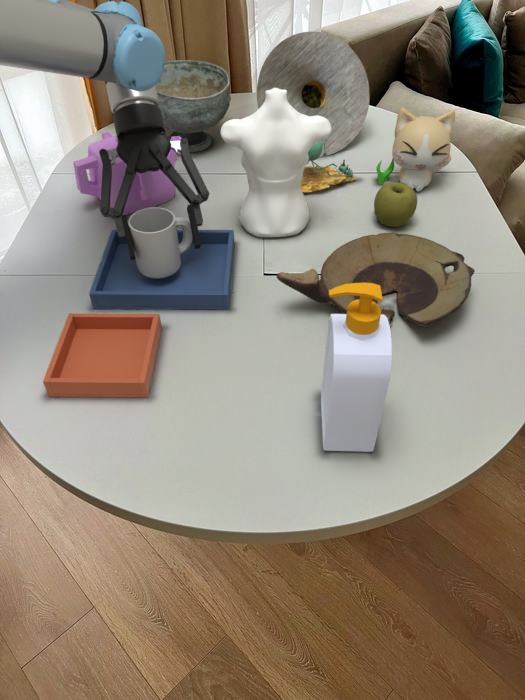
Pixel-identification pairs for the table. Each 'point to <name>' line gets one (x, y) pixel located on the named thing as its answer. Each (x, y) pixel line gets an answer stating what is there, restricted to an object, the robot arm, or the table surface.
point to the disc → (319, 83)
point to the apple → (395, 204)
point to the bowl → (193, 99)
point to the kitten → (419, 148)
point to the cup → (158, 241)
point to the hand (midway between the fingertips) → (166, 252)
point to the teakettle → (144, 188)
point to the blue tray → (170, 292)
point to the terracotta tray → (104, 356)
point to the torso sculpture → (275, 163)
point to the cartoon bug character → (323, 172)
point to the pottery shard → (392, 276)
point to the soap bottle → (355, 371)
